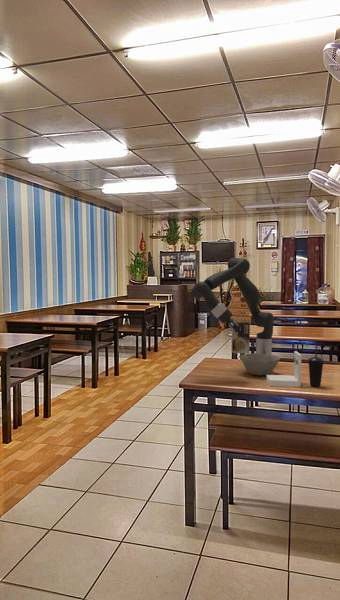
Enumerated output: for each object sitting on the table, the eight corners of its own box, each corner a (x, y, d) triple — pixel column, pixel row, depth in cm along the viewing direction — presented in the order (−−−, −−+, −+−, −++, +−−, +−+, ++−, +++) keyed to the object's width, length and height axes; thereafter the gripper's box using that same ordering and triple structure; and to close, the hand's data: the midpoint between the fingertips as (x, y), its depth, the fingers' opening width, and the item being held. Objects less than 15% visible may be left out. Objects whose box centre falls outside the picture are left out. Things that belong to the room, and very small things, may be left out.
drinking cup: (319, 384, 217) (320, 345, 216) (325, 388, 209) (326, 348, 208) (305, 384, 216) (306, 345, 215) (310, 388, 209) (311, 347, 208)
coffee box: (248, 351, 224) (249, 321, 223) (249, 353, 218) (250, 322, 217) (231, 351, 225) (231, 320, 224) (231, 353, 219) (232, 322, 218)
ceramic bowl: (284, 373, 242) (285, 355, 242) (272, 381, 222) (273, 362, 222) (247, 368, 254) (248, 351, 253) (233, 375, 234) (233, 357, 233)
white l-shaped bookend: (266, 380, 224) (267, 350, 223) (295, 381, 222) (296, 351, 222) (269, 386, 212) (270, 354, 211) (300, 387, 210) (301, 355, 210)
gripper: (227, 308, 214) (250, 332, 213) (226, 306, 228) (248, 329, 228) (216, 319, 215) (239, 342, 214) (216, 316, 229) (237, 338, 228)
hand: (243, 335), depth 221 cm, fingers closed on coffee box, 6 cm apart
